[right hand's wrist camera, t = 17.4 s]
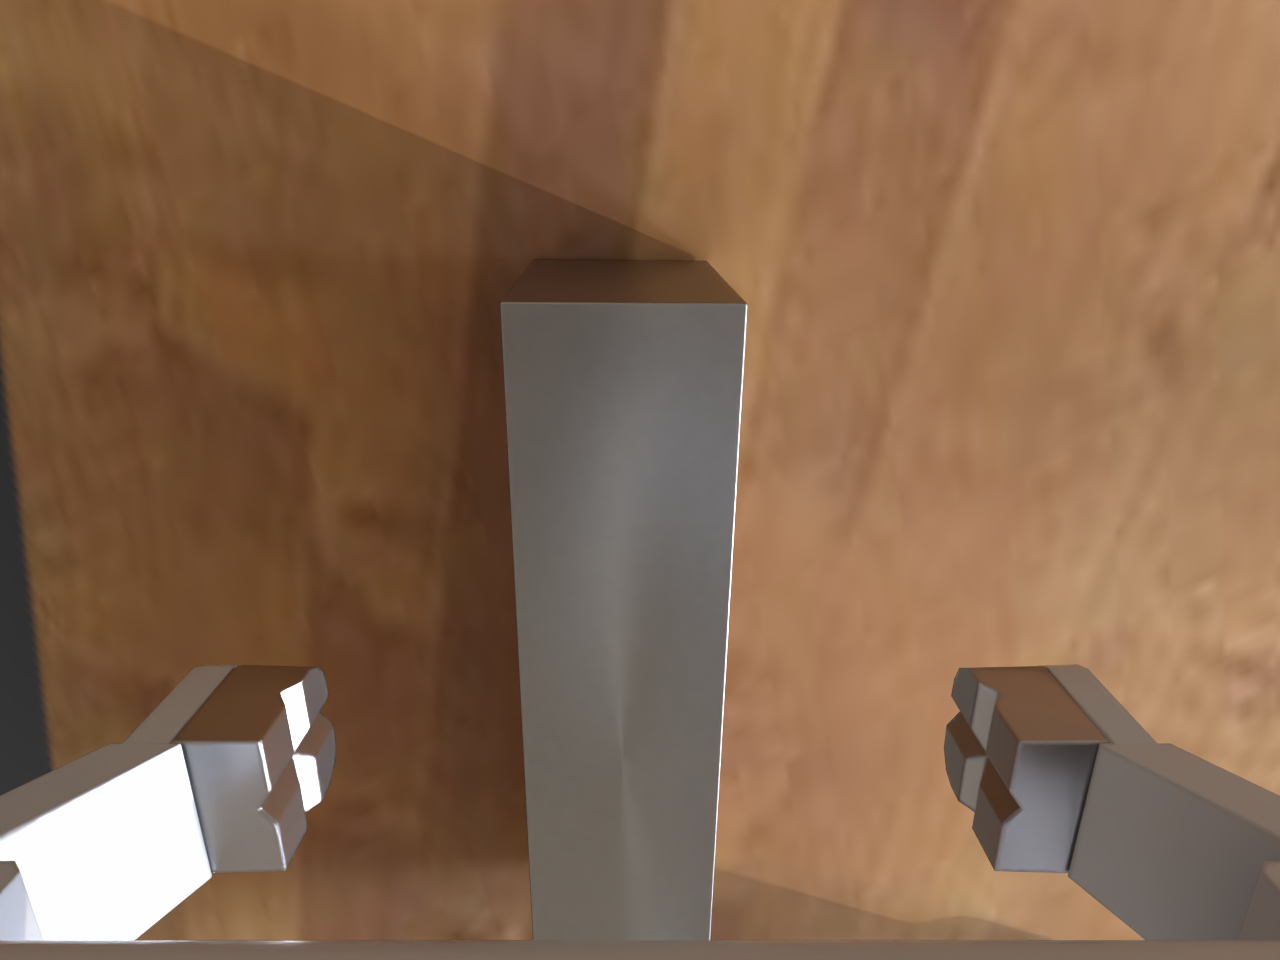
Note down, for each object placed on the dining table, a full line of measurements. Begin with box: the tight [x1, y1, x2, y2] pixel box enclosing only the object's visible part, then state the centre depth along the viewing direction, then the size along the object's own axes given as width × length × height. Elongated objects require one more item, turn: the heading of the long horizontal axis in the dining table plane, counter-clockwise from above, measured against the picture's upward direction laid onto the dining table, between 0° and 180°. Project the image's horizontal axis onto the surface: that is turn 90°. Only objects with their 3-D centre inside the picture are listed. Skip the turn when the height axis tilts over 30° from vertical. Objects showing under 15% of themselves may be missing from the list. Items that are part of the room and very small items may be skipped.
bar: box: [500, 260, 747, 941], centre depth 27 cm, size 26×6×9 cm, turn 179°
